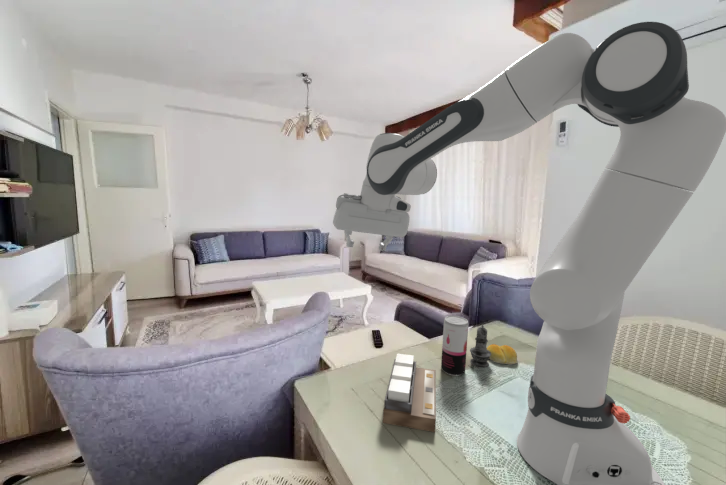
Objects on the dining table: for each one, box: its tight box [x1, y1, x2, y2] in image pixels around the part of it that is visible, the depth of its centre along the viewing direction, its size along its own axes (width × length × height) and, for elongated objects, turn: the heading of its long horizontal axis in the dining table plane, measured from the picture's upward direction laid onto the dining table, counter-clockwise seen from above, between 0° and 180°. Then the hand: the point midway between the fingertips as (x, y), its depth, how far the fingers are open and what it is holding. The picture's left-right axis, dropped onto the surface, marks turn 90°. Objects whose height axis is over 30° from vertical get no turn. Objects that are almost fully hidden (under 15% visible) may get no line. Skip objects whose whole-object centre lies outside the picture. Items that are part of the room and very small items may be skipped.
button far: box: [395, 353, 415, 372], centre depth 81 cm, size 4×4×2 cm
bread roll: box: [486, 343, 518, 366], centre depth 95 cm, size 8×9×4 cm
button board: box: [382, 358, 437, 433], centre depth 75 cm, size 11×19×5 cm, turn 167°
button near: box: [388, 379, 410, 403], centre depth 69 cm, size 4×4×2 cm
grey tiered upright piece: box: [469, 324, 491, 369], centre depth 91 cm, size 6×6×12 cm
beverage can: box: [440, 315, 469, 377], centre depth 87 cm, size 7×6×15 cm
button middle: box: [392, 365, 412, 386], centre depth 75 cm, size 4×4×2 cm
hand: (365, 248), depth 84 cm, fingers open, 8 cm apart
